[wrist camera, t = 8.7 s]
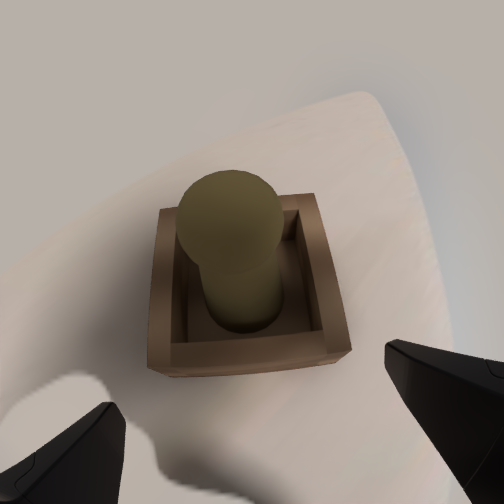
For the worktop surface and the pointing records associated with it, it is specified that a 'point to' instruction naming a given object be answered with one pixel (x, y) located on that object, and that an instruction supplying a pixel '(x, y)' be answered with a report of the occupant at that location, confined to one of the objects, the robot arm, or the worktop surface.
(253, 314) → the cork
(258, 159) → the worktop surface
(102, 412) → the robot arm
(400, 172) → the worktop surface
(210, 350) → the socket block
